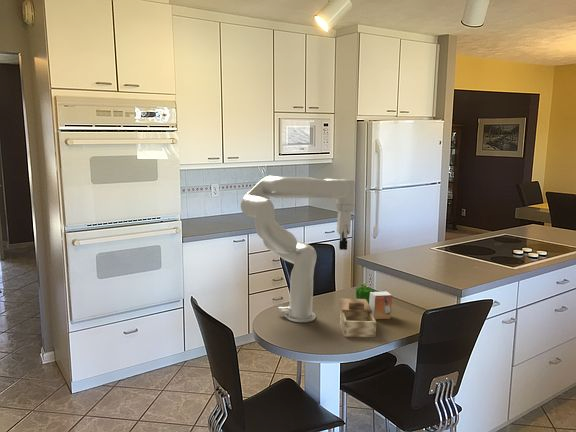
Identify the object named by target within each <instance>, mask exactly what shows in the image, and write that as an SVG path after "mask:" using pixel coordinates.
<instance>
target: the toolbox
mask: <svg viewBox="0 0 576 432" xmlns="http://www.w3.org/2000/svg"><path fill="white" fill-rule="evenodd" d="M339 312H340V314H339V316H340V317H339V324H340V328H341V330H342V331H341V332H342V334H343V337H347V338H348V337H352V338H354V337H356V338H376V336H377V334H376V332H377V321H376V319H374V317H373V315H372V313H371V312H343V311H341V310H340V311H339Z"/></svg>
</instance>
